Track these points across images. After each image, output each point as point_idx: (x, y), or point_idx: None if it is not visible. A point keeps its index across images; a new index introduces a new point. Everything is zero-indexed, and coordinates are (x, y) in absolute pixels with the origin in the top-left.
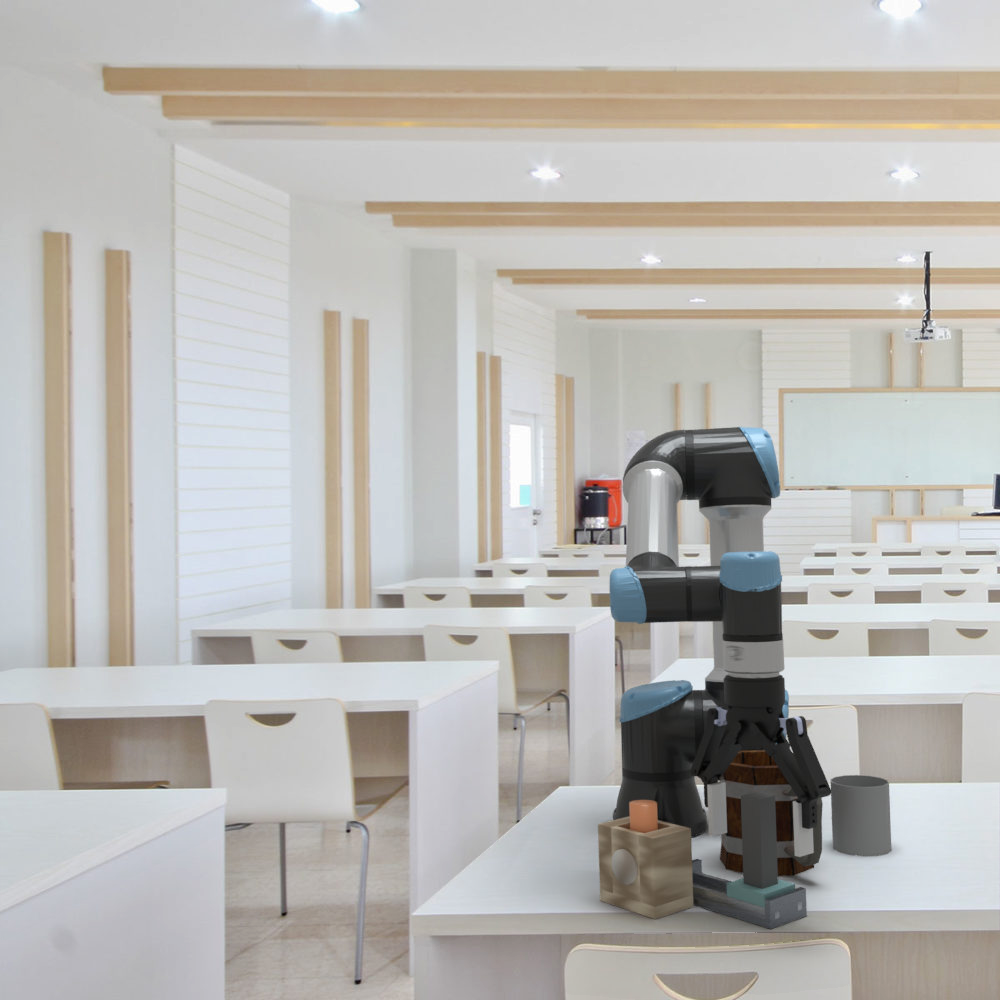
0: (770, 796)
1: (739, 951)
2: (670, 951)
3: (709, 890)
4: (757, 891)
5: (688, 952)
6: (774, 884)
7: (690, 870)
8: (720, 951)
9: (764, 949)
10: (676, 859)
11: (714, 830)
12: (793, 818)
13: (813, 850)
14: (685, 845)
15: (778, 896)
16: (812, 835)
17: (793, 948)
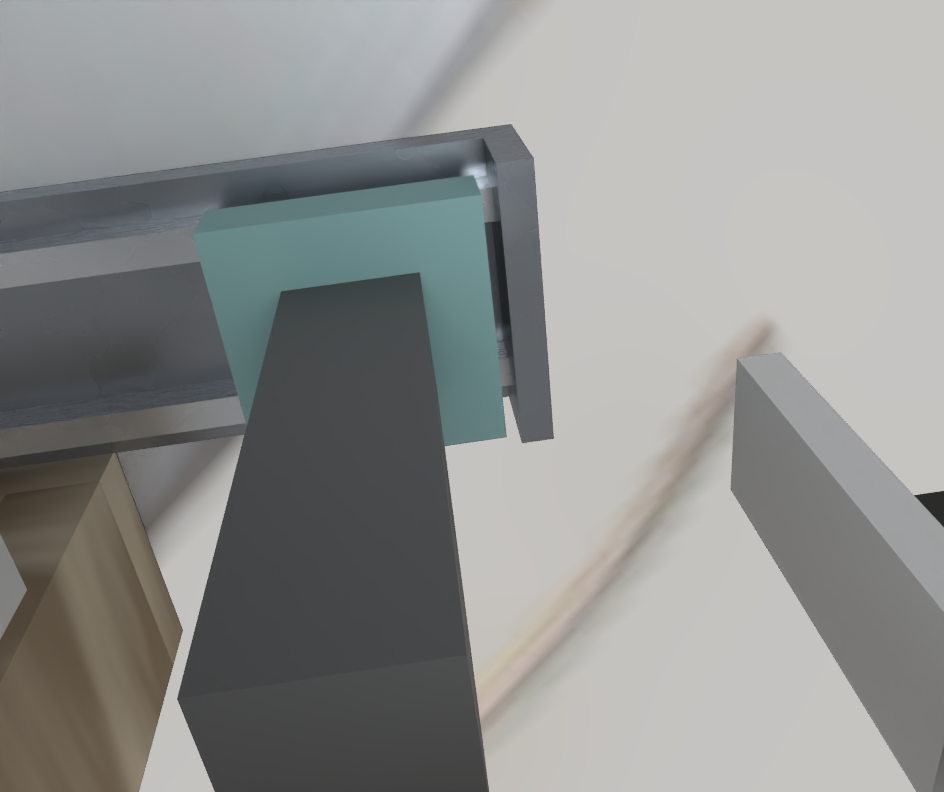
0: (466, 706)
1: (614, 583)
2: None
3: (124, 430)
4: (454, 437)
5: (514, 692)
6: (425, 303)
7: (68, 570)
8: (573, 624)
9: (659, 515)
10: (78, 706)
11: (3, 604)
12: (847, 676)
13: (786, 359)
14: (30, 705)
15: (533, 366)
16: (837, 420)
17: (724, 436)
